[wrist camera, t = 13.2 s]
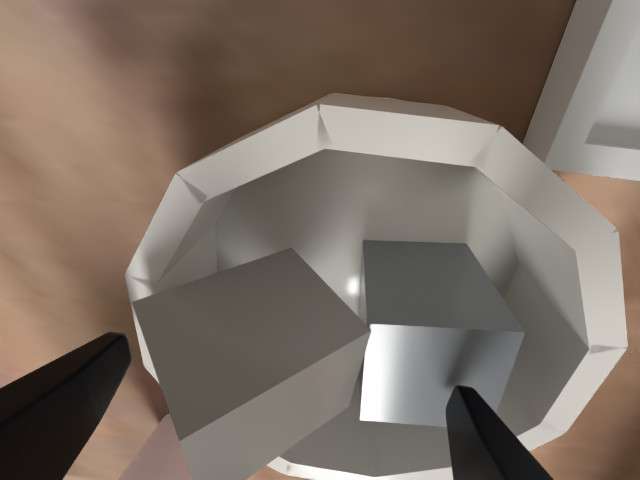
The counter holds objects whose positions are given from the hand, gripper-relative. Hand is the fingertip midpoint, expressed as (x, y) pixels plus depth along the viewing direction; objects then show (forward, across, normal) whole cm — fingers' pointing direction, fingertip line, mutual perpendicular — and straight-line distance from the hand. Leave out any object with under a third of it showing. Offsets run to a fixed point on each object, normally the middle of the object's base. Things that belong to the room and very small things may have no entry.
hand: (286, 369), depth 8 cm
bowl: (+6, -2, 0) cm, 6 cm away
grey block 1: (+2, -1, 0) cm, 2 cm away
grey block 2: (+5, -4, 0) cm, 6 cm away
